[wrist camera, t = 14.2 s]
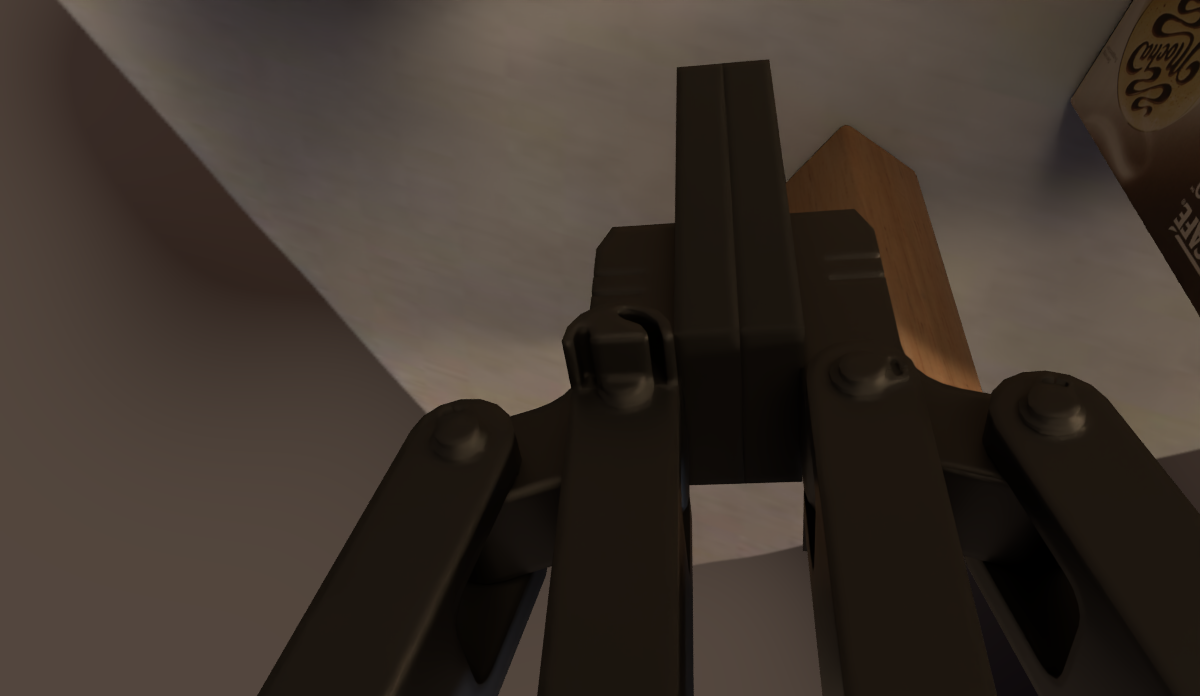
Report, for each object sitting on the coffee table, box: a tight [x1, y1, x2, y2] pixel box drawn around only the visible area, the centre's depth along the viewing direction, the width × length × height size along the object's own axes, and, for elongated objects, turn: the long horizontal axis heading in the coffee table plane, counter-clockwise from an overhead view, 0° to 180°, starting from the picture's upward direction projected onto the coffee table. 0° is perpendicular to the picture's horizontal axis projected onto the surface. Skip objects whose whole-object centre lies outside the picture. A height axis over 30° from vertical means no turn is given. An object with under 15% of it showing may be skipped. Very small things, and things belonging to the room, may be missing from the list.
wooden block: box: [786, 125, 982, 392], centre depth 41 cm, size 9×4×18 cm, turn 146°
